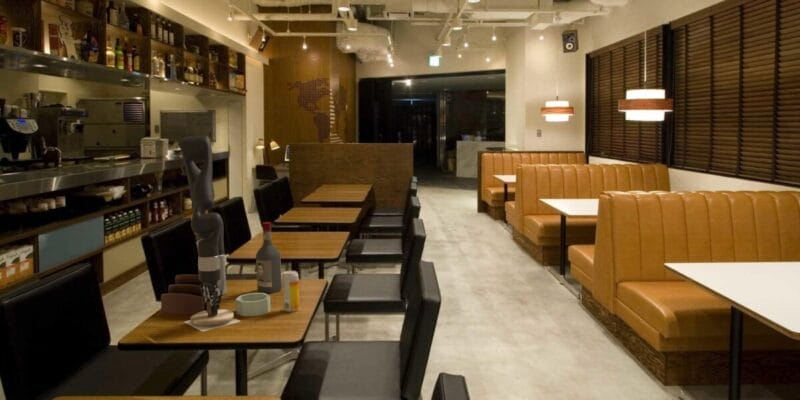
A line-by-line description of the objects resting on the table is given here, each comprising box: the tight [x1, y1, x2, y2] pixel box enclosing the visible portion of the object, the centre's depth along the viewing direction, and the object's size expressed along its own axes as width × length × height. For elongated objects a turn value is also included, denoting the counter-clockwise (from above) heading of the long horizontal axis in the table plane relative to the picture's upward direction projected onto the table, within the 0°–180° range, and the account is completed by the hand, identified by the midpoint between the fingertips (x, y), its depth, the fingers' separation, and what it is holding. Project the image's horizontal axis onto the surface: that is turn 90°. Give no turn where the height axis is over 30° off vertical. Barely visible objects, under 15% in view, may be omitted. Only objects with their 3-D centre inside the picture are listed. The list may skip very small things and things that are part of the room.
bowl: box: [235, 292, 272, 317], centre depth 230 cm, size 12×12×6 cm
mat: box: [184, 317, 242, 332], centre depth 218 cm, size 15×15×1 cm
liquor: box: [255, 221, 283, 294], centre depth 259 cm, size 9×9×30 cm
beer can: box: [281, 270, 301, 313], centre depth 232 cm, size 6×6×15 cm
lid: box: [190, 302, 235, 325], centre depth 218 cm, size 15×15×6 cm
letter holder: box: [160, 273, 221, 316], centre depth 232 cm, size 10×20×14 cm, turn 71°
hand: (212, 313), depth 218 cm, fingers closed on lid, 3 cm apart
